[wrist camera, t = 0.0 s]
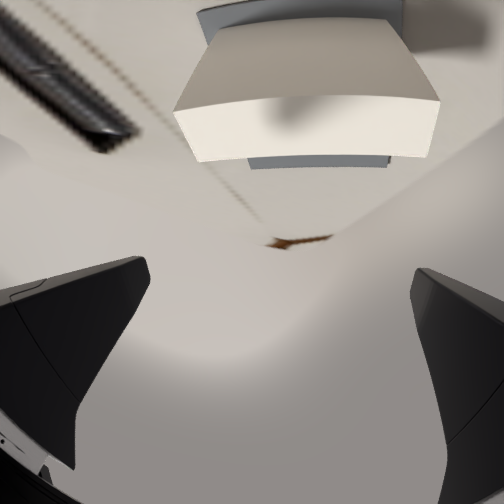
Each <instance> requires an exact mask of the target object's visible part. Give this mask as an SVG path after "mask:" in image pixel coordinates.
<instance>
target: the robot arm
mask: <svg viewBox="0 0 504 504" xmlns="http://www.w3.org/2000/svg"><path fill="white" fill-rule="evenodd" d="M149 284H150V274H149V270H148V266H147V263H146V260H145V258H144V257H141V256H132V257H128V258H124V259H120V260H116V261H113V262H108V263H104V264H100V265H96V266H92V267H89V268H85V269H81V270H77V271H73V272H70V273H66V274H62V275H58V276H54V277H50V278H48V279H42V280H38V281H34V282H30V283H26V284H22V285H19V286H14V287H10V288H7V289H2V290H0V504H83V503H81V502H80V501H78V500H76V499H74V498H73V497H71V496H69V495H68V494H66V493H64V492H62V491H61V490H59V489H57V488H56V487H55V486H53V484H52V480H51V477H50V473H49V469H48V467H47V466H45V465H44V462H45V460H46V458H47V456H49V457H51V458H52V459H54V460H56V461H57V462H59V463H61V464H63V465H64V466H66V467H68V468H70V469H72V470H74V469H75V420H76V413H77V410H78V407H79V405H80V403H81V402H82V400H83V398H84V396H85V395H86V393H87V391H88V389H89V388H90V386H91V384H92V383H93V381H94V379H95V377H96V376H97V374H98V372H99V371H100V369H101V367H102V365H103V364H104V362H105V360H106V359H107V357H108V355H109V354H110V352H111V351H112V349H113V347H114V346H115V344H116V342H117V340H118V339H119V337H120V336H121V334H122V333H123V331H124V330H125V328H126V326H127V325H128V323H129V321H130V320H131V319H132V317H133V315H134V314H135V312H136V310H137V308H138V306H139V304H140V302H141V300H142V298H143V296H144V294H145V292H146V290H147V288H148V286H149ZM410 299H411V303H412V308H413V312H414V318H415V323H416V327H417V332H418V335H419V338H420V341H421V344H422V348H423V351H424V354H425V358H426V361H427V364H428V368H429V371H430V375H431V379H432V382H433V386H434V390H435V394H436V398H437V402H438V406H439V411H440V416H441V420H442V424H443V430H444V435H445V440H446V444H447V467H446V472H445V476H444V481H443V485H442V490H441V493H440V497H439V501H438V504H504V302H503V301H501V300H499V299H497V298H495V297H493V296H490V295H488V294H486V293H484V292H482V291H479V290H477V289H475V288H472V287H470V286H468V285H466V284H464V283H461V282H459V281H457V280H455V279H452V278H450V277H448V276H445V275H443V274H441V273H438V272H436V271H433V270H431V269H429V268H417V270H416V271H415V274H414V278H413V282H412V285H411V290H410Z"/></svg>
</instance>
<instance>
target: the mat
mask: <svg viewBox="0 0 504 504" xmlns="http://www.w3.org/2000/svg"><path fill="white" fill-rule="evenodd" d="M196 14H197V16H198V19H199V22H200V24H201V27H202V30H203V33H204V35H205V38H206V41H207V44H208V46H209V44H210V43H211V41H212V39H213V38H214V36H215V34H216V33H217V31H218V30H219V29H222V28H228V27H233V26H239V25H245V24H252V23H259V22H267V21H276V20H287V19H300V18H324V17H348V18H372V19H385V20H387V21H388V23H389V24H390V25H391V26H392V28H393V29H394V30H395V32H396V33H397V34H398V36H399V37H400V38H401V40H402V0H254V1H247V2H241V3H236V4H230V5H225V6H220V7H216V8H211V9H207V10H203V11H199V12H197V13H196ZM388 158H389V155H291V156H269V157H253V158H247V159H248V162H249V165H250V168H251V169H271V168H297V167H381V168H387V164H388Z"/></svg>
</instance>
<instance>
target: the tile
mask: <svg viewBox="0 0 504 504" xmlns="http://www.w3.org/2000/svg"><path fill="white" fill-rule="evenodd" d="M440 103H441V101H440V99H439V98H438V96H437V94H436V92H435V90H434V89H433V87H432V85H431V84H430V82H429V80H428V79H427V77H426V75H425V74H424V72H423V71H422V69H421V67H420V66H419V64H418V63H417V61H416V60H415V58H414V57H413V55H412V54H411V52H410V51H409V49H408V48H407V47H406V45H405V44H404V42H403V41H402V40H401V38H400V37H399V36H398V34H397V33H396V32H395V30H394V29H393V28H392V26H391V25H390V24H389V23H388V21H387V20H385V19H372V18H348V17H324V18H300V19H287V20H276V21H267V22H259V23H252V24H245V25H239V26H233V27H228V28H222V29H219V30H218V31H217V33H216V34H215V36H214V38H213V39H212V41H211V43H210V44H209V46H208V48H207V49H206V51H205V53H204V54H203V56H202V58H201V60H200V61H199V63H198V65H197V67H196V68H195V70H194V72H193V74H192V76H191V78H190V79H189V81H188V83H187V85H186V87H185V89H184V91H183V93H182V95H181V97H180V98H179V100H178V102H177V104H176V106H175V108H174V111H173V114H174V116H175V118H176V120H177V122H178V124H179V126H180V128H181V129H182V131H183V133H184V135H185V137H186V139H187V141H188V143H189V145H190V147H191V149H192V151H193V153H194V155H195V157H196V159H197V161H198V162H206V161H216V160H227V159H239V158H253V157H269V156H291V155H389V156H410V157H425V158H426V157H427V154H428V150H429V147H430V143H431V139H432V136H433V132H434V128H435V124H436V120H437V116H438V111H439V107H440Z"/></svg>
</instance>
